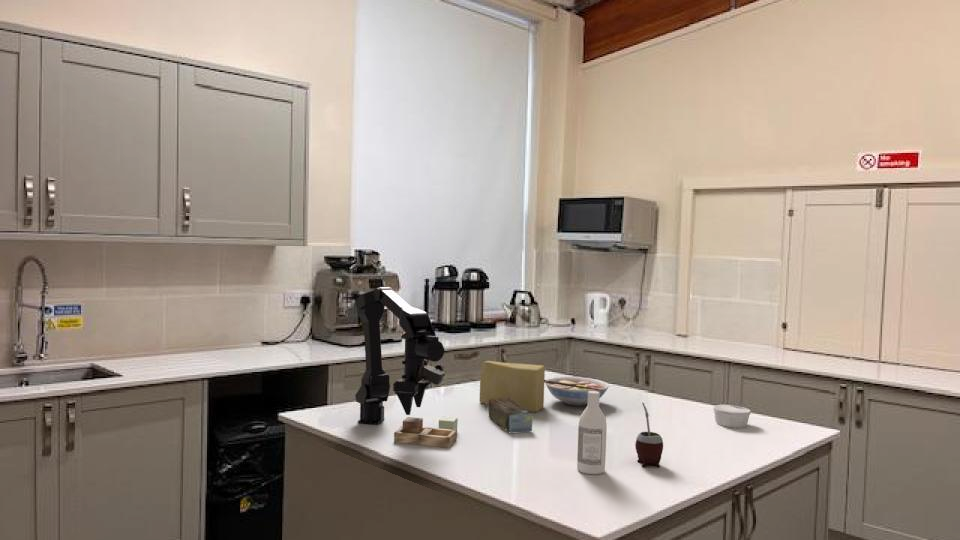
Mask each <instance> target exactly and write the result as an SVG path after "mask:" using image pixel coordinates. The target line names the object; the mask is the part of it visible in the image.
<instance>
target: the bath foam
mask: <svg viewBox="0 0 960 540" xmlns="http://www.w3.org/2000/svg"><path fill="white" fill-rule="evenodd" d="M600 399H601V398H600V393H599V392H597V391H589V392H588V404H586V405H587V406H586V408H584V410H583V412H582V413H581V415H580V416H579V420H578V429H577V430H578V432H577V457H576V459H577V462H576V468H577V471H579V472H580V473H583V474H585V475H594V476H595V475H601V474H603V473H604V472H605V471H606V455H607V454H606V451H607V450H606V449H607V419H606V417H605V416H606V415H605V414H604V412H603V411H602V409H601V407H600Z"/></svg>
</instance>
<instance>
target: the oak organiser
mask: <svg viewBox="0 0 960 540" xmlns="http://www.w3.org/2000/svg"><path fill="white" fill-rule="evenodd" d="M402 430H403V425H402V426H401V427H400V428H398V429H397V430H395V431H394V432H393V433H394V434H393V435H394V436H393V442H394V443H398V442H400V444H408V443H412V444H411V445H418V444H420V445H421V446H430V447H441V448H448V447H449V448H450V447H452V446H453V444H455V442H456V441H457V440H458V438H457V437H458V436H457V435H458V429H457V430H450V429H439V427H438V428H437V427H426V426H423V431H422V432H421V433H420V434H415V433H405V432H402ZM456 439H457V440H456Z"/></svg>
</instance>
